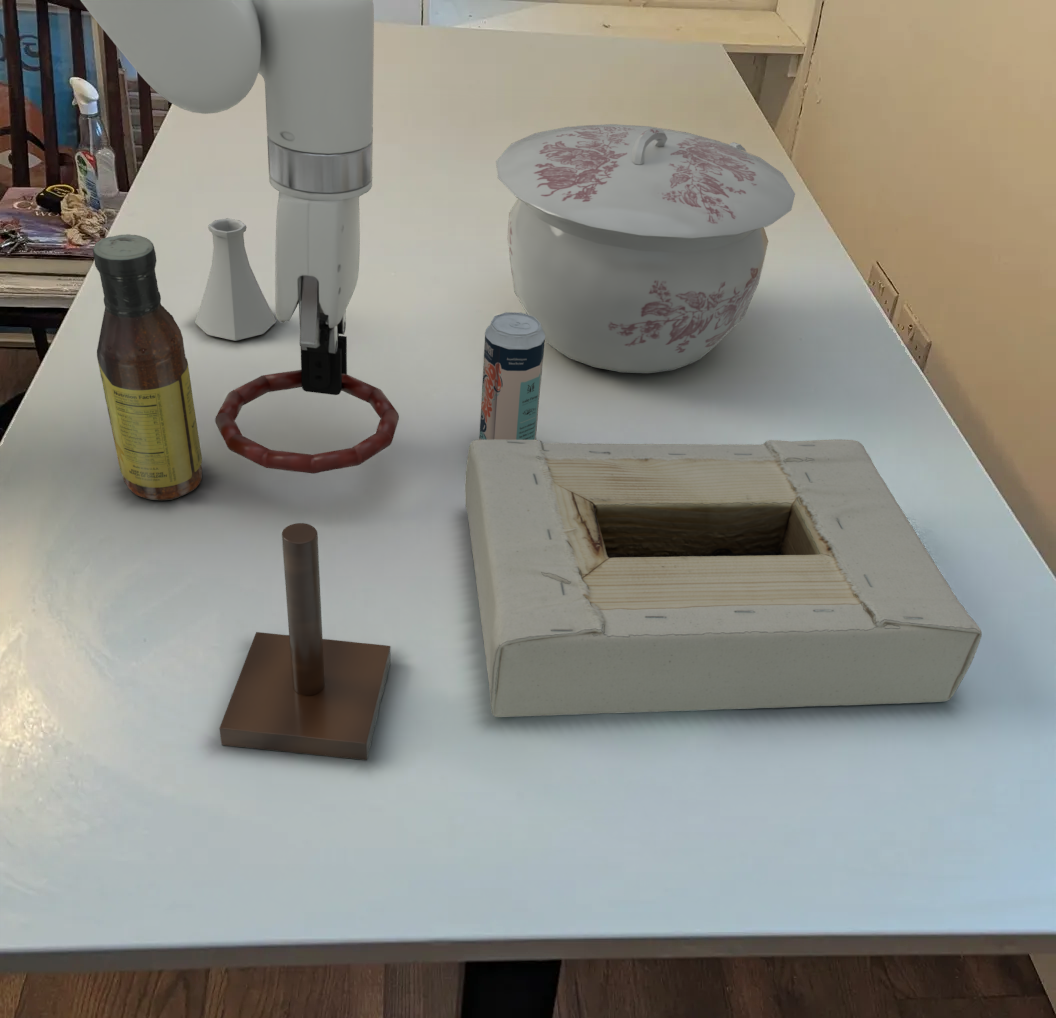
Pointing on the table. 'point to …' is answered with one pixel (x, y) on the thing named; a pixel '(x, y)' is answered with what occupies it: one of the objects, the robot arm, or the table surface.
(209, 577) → the table surface
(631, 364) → the chamber pot
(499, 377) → the beer can
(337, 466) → the ring
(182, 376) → the sauce bottle
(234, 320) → the flask
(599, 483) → the box
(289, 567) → the post
